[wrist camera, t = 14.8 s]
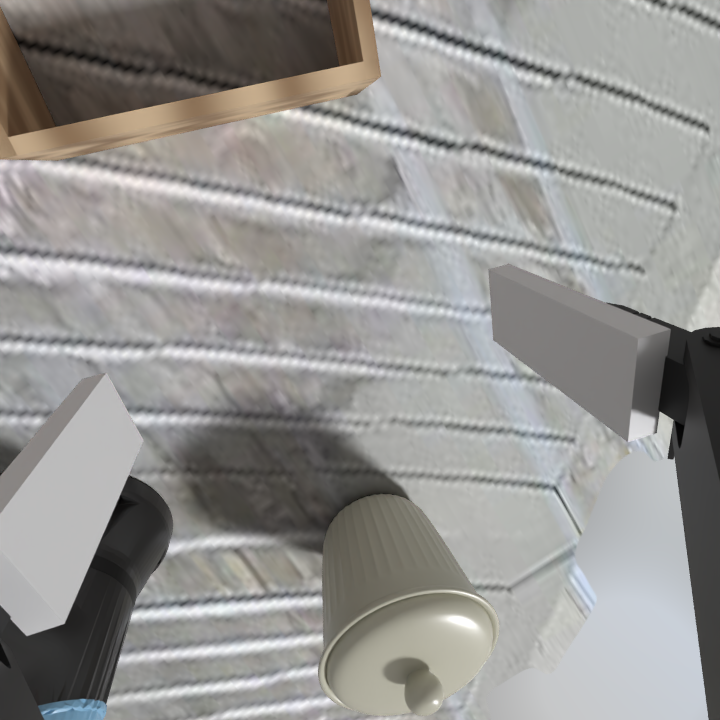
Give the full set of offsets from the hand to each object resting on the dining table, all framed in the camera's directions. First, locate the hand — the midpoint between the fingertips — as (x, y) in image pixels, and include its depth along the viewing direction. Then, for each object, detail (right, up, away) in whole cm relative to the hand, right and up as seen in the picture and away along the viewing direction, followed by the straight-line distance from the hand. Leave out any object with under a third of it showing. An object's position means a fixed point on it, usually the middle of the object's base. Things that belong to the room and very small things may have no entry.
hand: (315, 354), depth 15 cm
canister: (+3, -22, +41) cm, 47 cm away
